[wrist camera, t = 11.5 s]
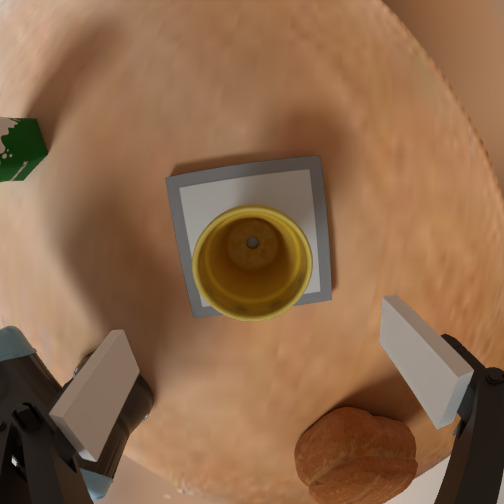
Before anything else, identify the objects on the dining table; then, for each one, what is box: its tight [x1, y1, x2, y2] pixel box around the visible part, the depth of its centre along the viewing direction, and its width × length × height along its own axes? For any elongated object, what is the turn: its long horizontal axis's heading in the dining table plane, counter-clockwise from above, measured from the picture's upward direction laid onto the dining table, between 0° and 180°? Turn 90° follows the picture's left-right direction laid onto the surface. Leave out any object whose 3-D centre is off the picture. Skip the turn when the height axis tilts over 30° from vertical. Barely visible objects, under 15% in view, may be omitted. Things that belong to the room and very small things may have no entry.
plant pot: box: [192, 204, 313, 321], centre depth 28 cm, size 10×10×10 cm
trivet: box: [166, 155, 332, 318], centre depth 34 cm, size 18×18×2 cm
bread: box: [294, 407, 418, 504], centre depth 37 cm, size 18×21×17 cm
